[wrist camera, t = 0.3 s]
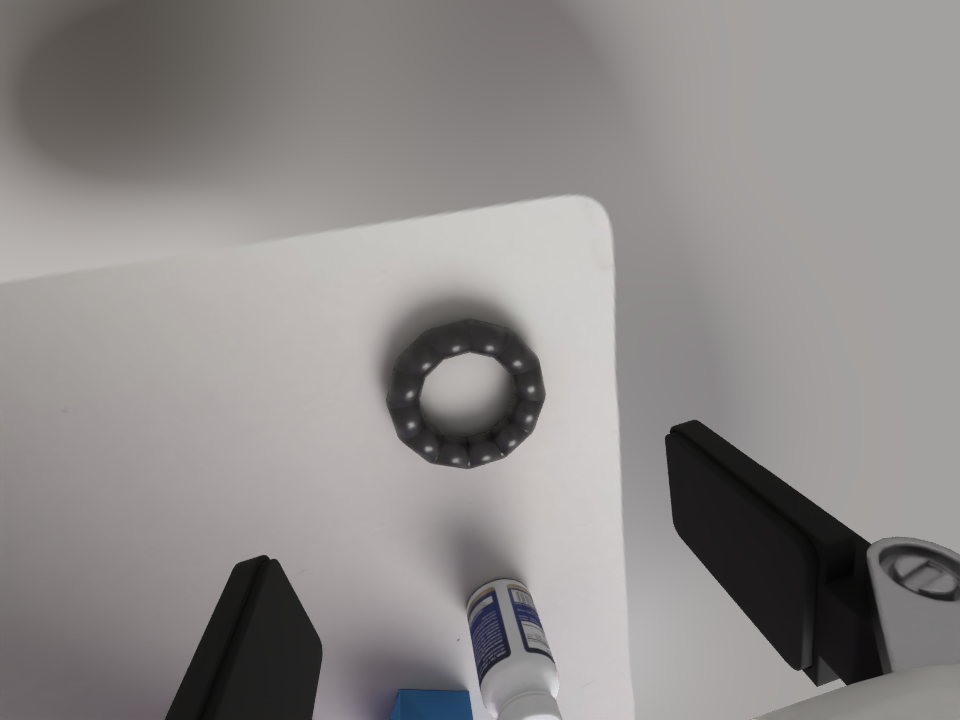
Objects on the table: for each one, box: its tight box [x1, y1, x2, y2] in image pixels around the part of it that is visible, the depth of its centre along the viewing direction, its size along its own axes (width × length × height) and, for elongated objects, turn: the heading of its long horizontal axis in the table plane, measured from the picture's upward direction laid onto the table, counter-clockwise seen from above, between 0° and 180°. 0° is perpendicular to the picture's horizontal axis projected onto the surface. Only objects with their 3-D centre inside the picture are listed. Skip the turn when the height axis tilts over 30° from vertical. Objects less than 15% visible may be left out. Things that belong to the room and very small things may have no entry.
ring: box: [386, 319, 546, 469], centre depth 28 cm, size 10×10×2 cm
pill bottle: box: [467, 579, 562, 720], centre depth 31 cm, size 5×5×10 cm
